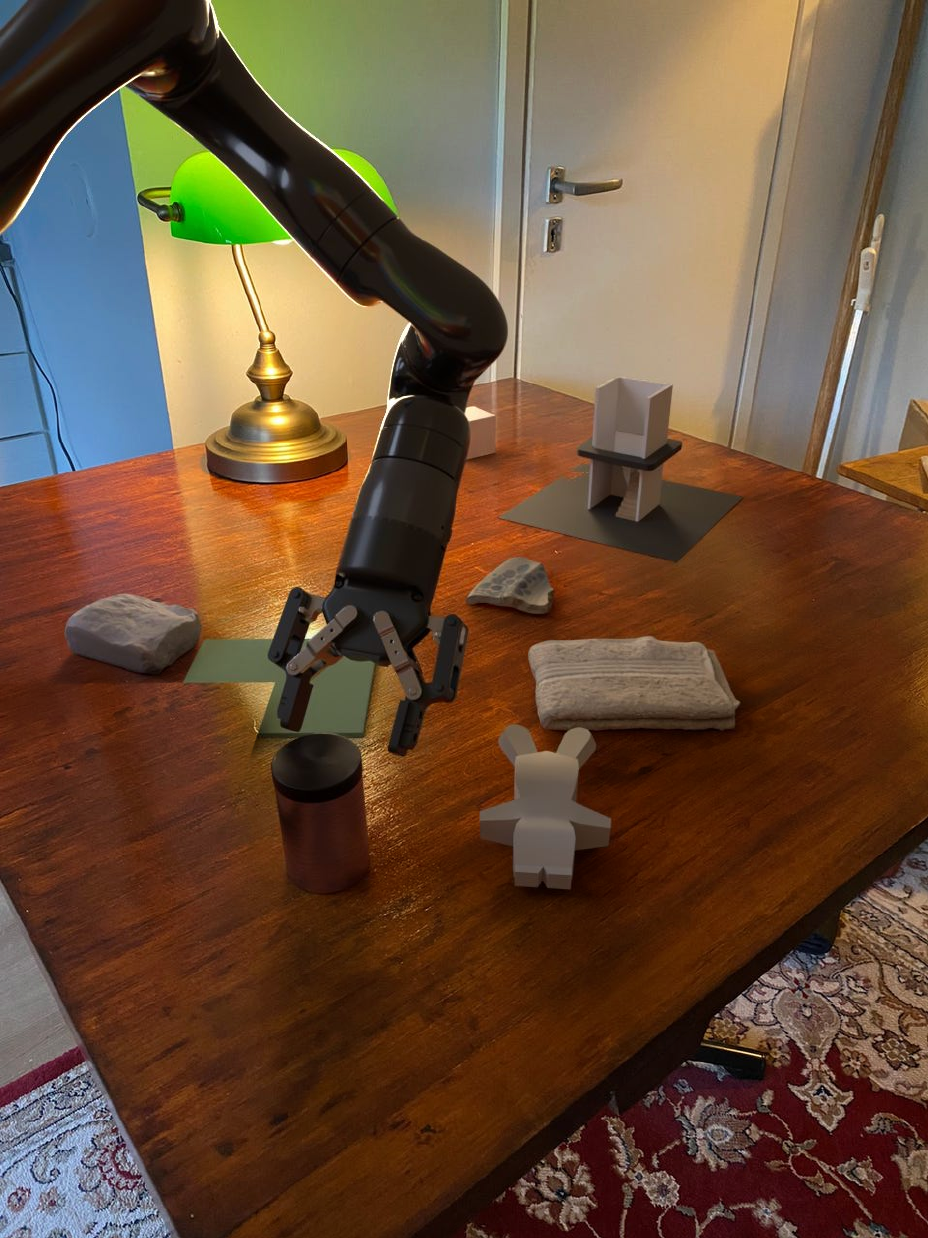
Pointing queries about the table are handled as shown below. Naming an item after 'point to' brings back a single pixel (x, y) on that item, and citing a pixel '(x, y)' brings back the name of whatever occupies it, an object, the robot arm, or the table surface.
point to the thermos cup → (322, 811)
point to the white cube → (481, 432)
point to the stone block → (133, 632)
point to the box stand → (627, 481)
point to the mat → (333, 695)
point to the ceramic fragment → (516, 587)
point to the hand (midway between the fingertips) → (342, 742)
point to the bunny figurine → (545, 809)
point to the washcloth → (630, 685)
